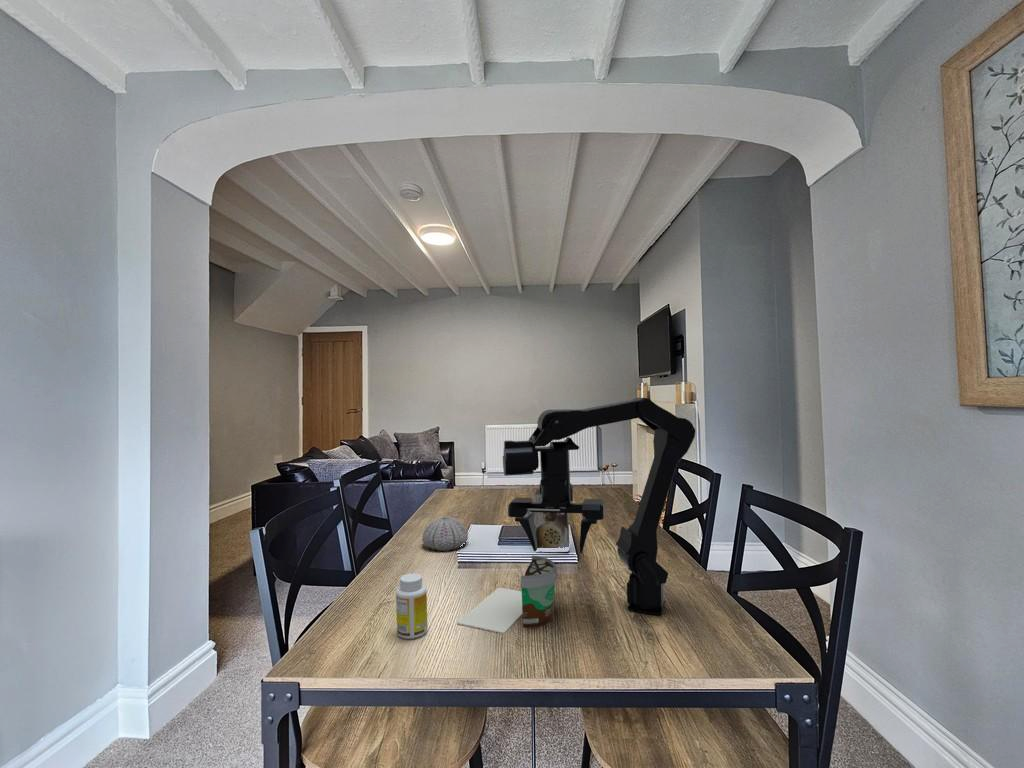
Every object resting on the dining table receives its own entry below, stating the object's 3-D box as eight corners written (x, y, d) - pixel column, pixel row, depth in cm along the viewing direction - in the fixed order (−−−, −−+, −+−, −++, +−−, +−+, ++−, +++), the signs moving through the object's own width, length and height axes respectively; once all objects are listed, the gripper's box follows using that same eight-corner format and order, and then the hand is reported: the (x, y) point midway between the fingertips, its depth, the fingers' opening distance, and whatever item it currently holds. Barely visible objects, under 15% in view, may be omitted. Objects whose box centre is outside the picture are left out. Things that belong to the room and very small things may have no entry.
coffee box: (569, 546, 139) (568, 489, 140) (569, 553, 133) (567, 493, 133) (537, 545, 141) (536, 488, 141) (535, 552, 134) (534, 493, 134)
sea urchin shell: (452, 536, 152) (452, 510, 152) (477, 546, 141) (477, 518, 141) (413, 545, 143) (413, 517, 143) (437, 557, 133) (436, 527, 133)
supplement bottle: (428, 624, 94) (427, 570, 94) (426, 639, 89) (425, 582, 89) (398, 626, 94) (397, 572, 94) (394, 641, 88) (393, 584, 88)
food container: (554, 634, 90) (553, 578, 90) (521, 631, 91) (520, 576, 91) (562, 604, 102) (561, 556, 102) (533, 602, 103) (532, 554, 103)
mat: (540, 595, 106) (540, 594, 106) (504, 634, 90) (504, 632, 90) (498, 588, 110) (498, 587, 110) (456, 624, 94) (456, 622, 94)
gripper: (605, 466, 104) (608, 540, 103) (519, 466, 108) (521, 537, 108) (601, 476, 93) (604, 559, 93) (506, 475, 97) (508, 554, 97)
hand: (558, 551), depth 98 cm, fingers open, 9 cm apart
